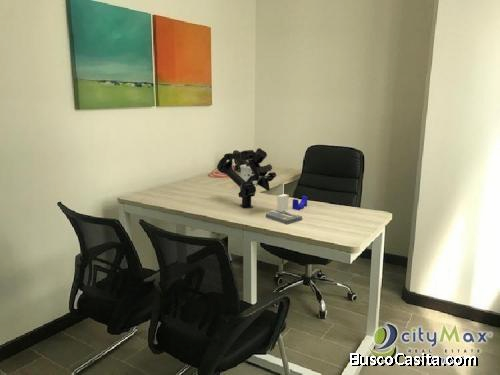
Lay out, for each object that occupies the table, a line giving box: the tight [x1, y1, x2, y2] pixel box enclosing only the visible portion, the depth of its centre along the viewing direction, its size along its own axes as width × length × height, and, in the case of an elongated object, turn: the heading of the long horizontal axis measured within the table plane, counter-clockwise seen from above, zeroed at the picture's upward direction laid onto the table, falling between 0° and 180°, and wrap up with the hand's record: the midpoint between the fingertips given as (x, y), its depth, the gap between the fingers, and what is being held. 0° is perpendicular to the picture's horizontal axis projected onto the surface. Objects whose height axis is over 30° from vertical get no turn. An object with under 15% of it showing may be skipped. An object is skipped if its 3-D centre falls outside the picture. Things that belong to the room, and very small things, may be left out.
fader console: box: [265, 208, 303, 225], centre depth 219 cm, size 16×12×3 cm
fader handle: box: [276, 193, 290, 214], centre depth 219 cm, size 3×6×11 cm, turn 131°
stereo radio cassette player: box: [239, 160, 258, 186], centre depth 305 cm, size 21×8×20 cm, turn 46°
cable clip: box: [291, 195, 308, 211], centre depth 242 cm, size 12×4×6 cm, turn 142°
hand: (268, 190), depth 225 cm, fingers closed
